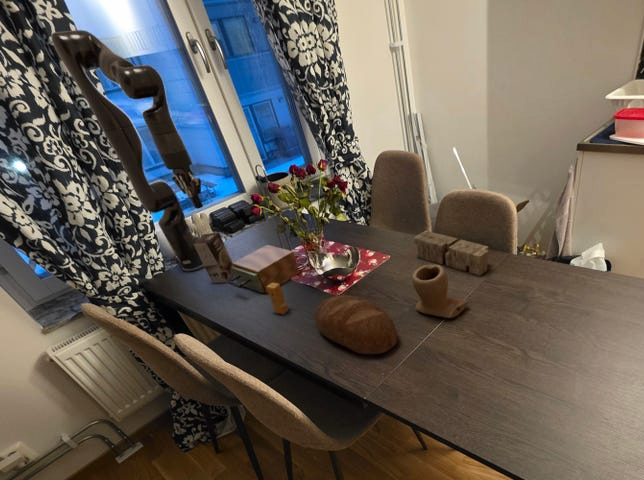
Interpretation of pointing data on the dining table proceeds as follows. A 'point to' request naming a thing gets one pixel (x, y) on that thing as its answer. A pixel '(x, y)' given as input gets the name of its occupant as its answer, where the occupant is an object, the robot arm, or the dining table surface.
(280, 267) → the cabinet
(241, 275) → the drawer
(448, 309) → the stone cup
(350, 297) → the bread
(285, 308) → the supplement box
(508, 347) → the dining table surface
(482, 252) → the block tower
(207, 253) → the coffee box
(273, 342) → the dining table surface
